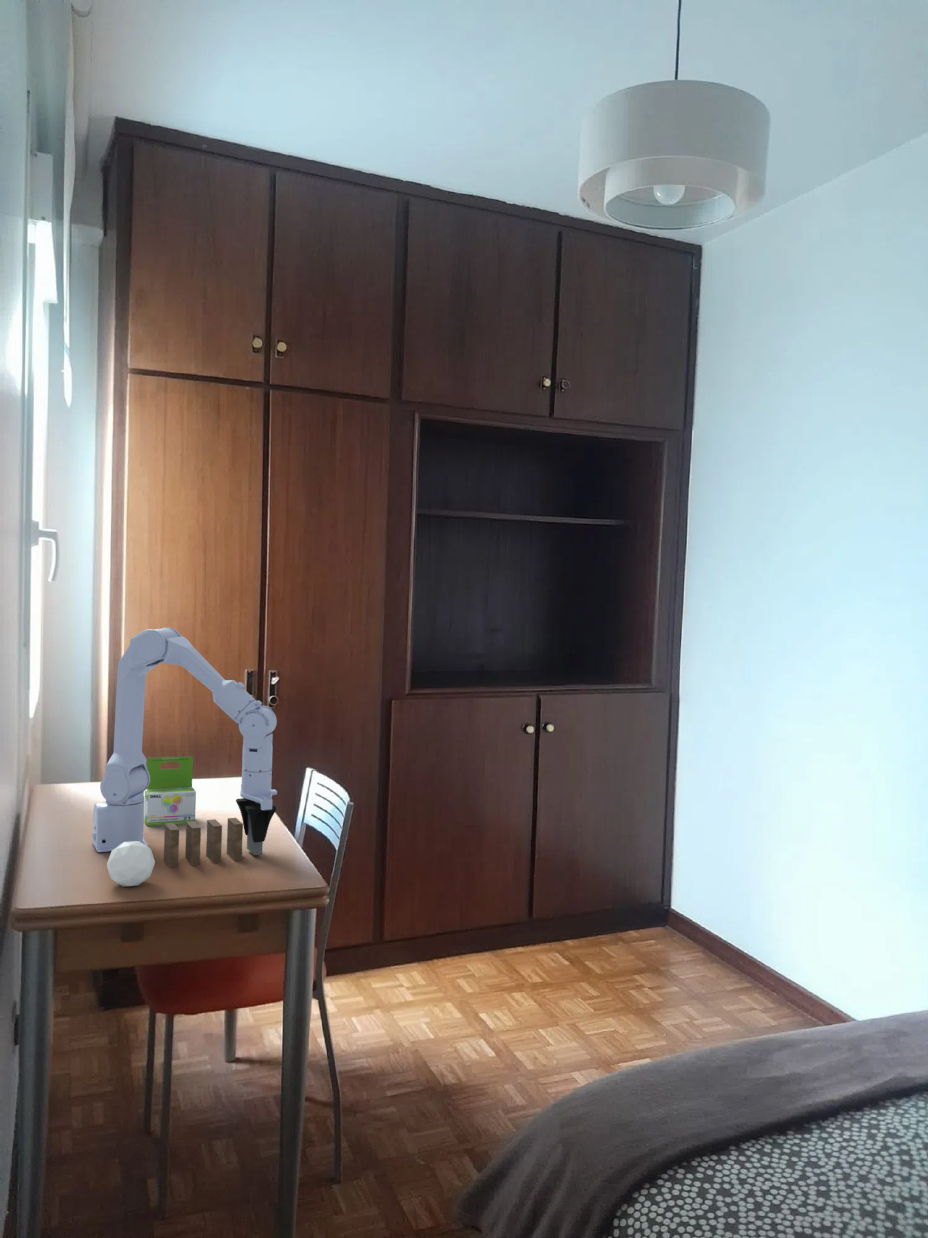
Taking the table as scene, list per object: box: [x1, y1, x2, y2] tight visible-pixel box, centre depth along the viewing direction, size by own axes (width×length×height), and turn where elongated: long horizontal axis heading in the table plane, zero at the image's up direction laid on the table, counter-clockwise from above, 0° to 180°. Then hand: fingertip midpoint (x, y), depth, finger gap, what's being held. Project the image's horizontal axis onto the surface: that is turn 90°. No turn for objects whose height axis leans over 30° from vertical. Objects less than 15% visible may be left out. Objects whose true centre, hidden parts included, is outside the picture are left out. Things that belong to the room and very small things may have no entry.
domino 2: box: [184, 820, 202, 866], centre depth 183 cm, size 2×5×7 cm, turn 29°
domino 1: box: [163, 823, 180, 868], centre depth 181 cm, size 2×5×7 cm, turn 29°
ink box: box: [144, 755, 197, 827], centre depth 210 cm, size 10×5×14 cm, turn 114°
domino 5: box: [246, 815, 264, 856], centre depth 188 cm, size 2×5×7 cm, turn 29°
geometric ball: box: [106, 841, 156, 888], centre depth 168 cm, size 8×8×8 cm
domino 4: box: [226, 817, 244, 861], centre depth 186 cm, size 2×5×7 cm, turn 29°
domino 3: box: [205, 818, 223, 864], centre depth 185 cm, size 2×5×7 cm, turn 29°
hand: (254, 838), depth 188 cm, fingers closed on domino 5, 5 cm apart
